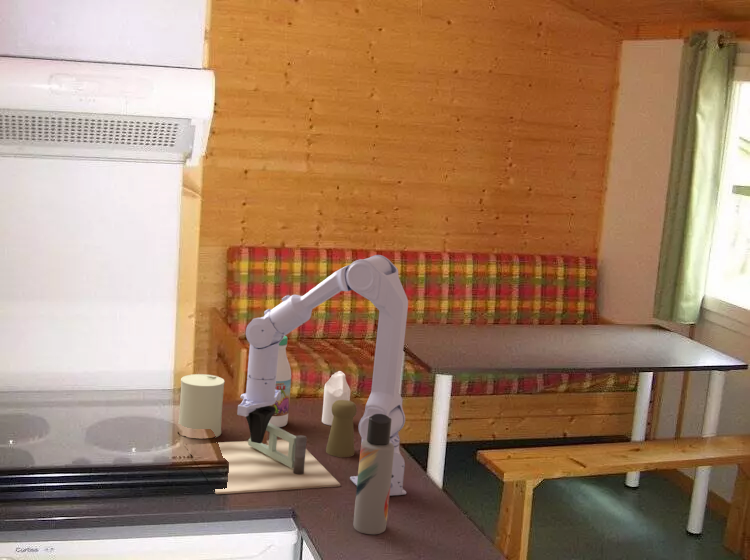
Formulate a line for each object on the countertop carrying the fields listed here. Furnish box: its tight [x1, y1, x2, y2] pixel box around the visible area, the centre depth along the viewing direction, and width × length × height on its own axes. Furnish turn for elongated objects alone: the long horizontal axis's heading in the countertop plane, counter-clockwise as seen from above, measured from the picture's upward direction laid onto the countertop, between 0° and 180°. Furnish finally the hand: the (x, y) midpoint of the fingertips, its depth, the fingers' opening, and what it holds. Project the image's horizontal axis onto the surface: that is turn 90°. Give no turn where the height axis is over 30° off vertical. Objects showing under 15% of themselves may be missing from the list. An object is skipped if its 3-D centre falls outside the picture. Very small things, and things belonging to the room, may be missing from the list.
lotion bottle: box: [353, 414, 394, 535], centre depth 170 cm, size 6×6×20 cm
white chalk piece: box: [321, 370, 351, 426], centre depth 228 cm, size 6×12×6 cm
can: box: [178, 373, 226, 438], centre depth 212 cm, size 9×9×12 cm
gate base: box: [214, 431, 341, 495], centre depth 196 cm, size 26×24×8 cm
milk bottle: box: [269, 335, 292, 428], centre depth 222 cm, size 8×8×20 cm
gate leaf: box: [247, 423, 297, 468], centre depth 200 cm, size 15×1×6 cm, turn 41°
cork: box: [325, 400, 358, 458], centre depth 208 cm, size 6×6×11 cm
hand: (256, 442), depth 200 cm, fingers closed
